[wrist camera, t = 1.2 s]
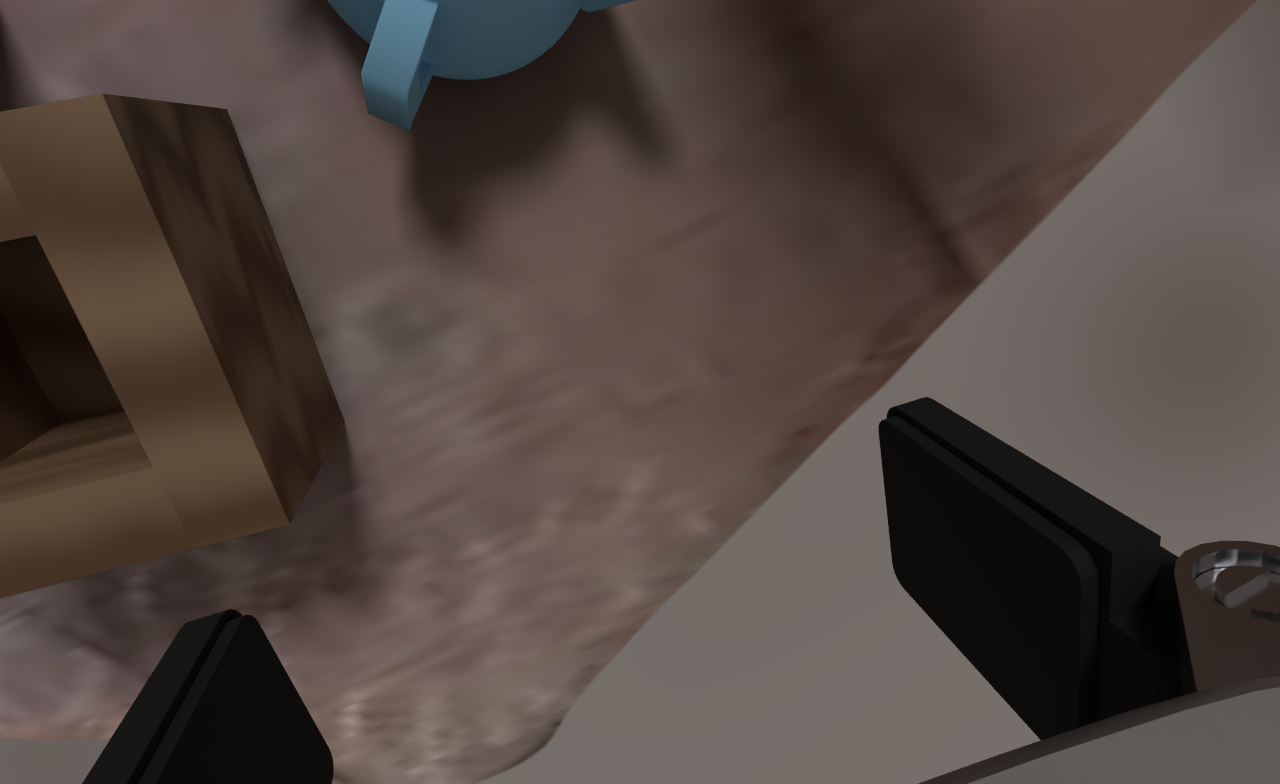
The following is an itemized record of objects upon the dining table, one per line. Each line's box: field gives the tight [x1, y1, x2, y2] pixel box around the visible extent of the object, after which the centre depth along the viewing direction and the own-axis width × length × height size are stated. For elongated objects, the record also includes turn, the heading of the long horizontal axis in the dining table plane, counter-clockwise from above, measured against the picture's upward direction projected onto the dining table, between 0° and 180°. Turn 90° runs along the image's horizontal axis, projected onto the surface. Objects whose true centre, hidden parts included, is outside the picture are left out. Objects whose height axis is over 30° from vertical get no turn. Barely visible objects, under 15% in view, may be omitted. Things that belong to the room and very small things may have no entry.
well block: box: [0, 94, 344, 598], centre depth 31 cm, size 18×18×12 cm
